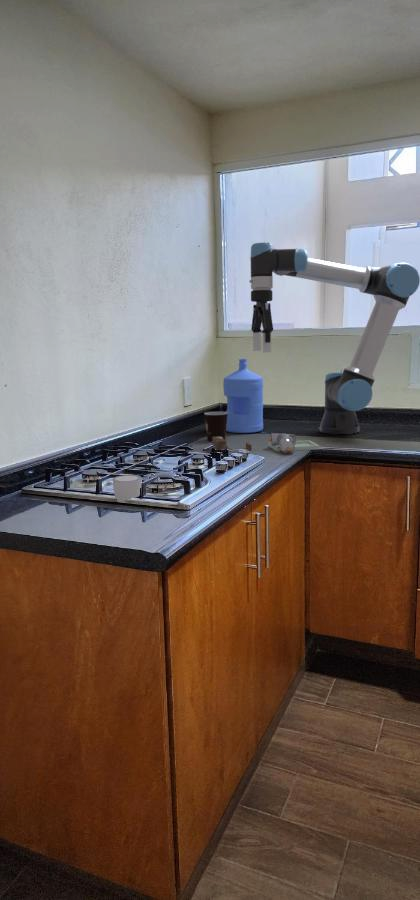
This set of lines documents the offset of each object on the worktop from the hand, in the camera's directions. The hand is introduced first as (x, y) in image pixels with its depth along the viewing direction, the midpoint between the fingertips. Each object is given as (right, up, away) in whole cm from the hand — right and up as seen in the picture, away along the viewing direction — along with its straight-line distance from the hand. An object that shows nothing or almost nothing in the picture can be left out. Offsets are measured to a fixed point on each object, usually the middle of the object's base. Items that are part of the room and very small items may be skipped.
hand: (261, 351), depth 213 cm
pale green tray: (+10, -34, -10) cm, 37 cm away
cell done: (+10, -32, -11) cm, 35 cm away
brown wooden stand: (-11, -35, -13) cm, 39 cm away
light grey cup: (-38, -49, -72) cm, 94 cm away
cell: (+6, -31, -15) cm, 35 cm away
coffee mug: (-16, -31, +8) cm, 36 cm away
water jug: (-5, -27, +27) cm, 38 cm away
